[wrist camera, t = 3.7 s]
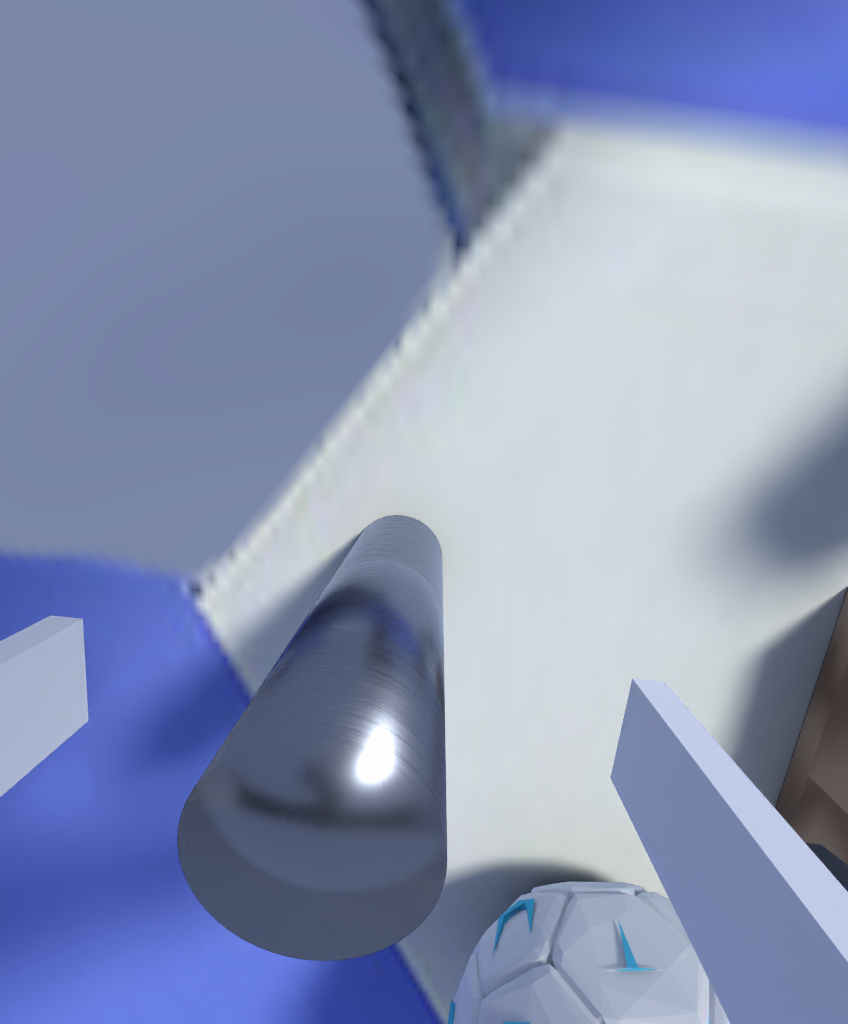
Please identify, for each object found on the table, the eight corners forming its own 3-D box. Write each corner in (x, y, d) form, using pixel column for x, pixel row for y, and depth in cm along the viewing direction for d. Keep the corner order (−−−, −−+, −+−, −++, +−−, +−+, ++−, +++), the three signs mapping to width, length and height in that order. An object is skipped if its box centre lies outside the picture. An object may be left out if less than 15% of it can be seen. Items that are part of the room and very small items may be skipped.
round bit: (357, 510, 20) (174, 724, 6) (447, 520, 20) (462, 757, 6) (351, 594, 21) (178, 944, 7) (436, 604, 21) (431, 974, 7)
